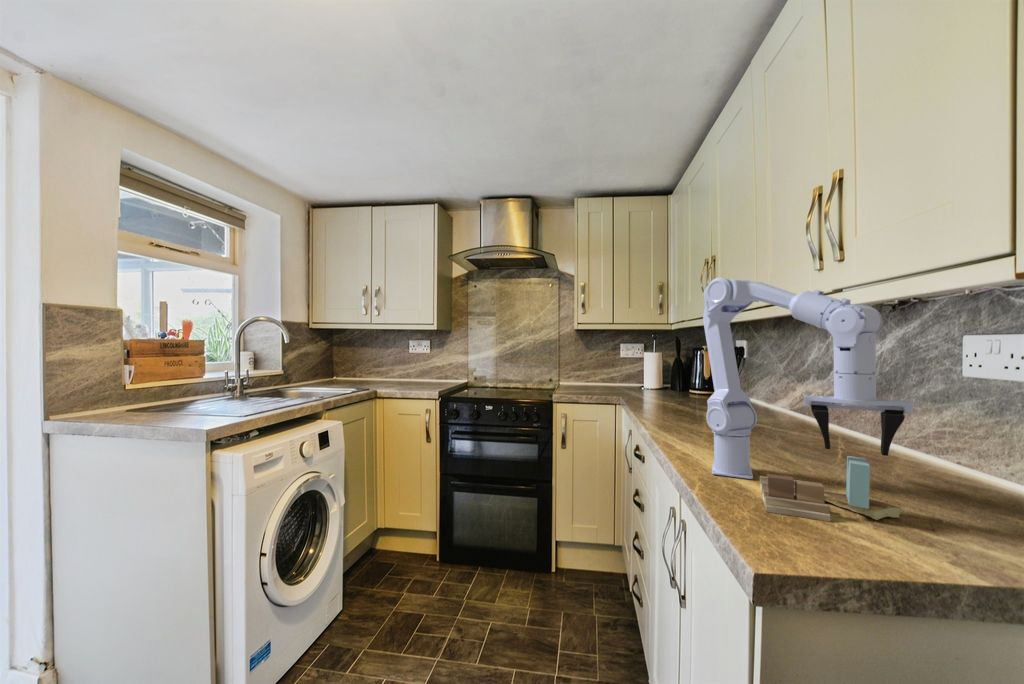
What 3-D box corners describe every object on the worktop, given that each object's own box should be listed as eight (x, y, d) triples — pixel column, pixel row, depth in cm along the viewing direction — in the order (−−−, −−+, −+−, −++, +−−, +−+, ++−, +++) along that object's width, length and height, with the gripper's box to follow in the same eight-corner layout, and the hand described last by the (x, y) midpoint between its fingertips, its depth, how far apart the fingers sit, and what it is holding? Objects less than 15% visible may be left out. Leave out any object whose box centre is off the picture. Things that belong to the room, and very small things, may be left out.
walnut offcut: (767, 498, 75) (767, 474, 75) (792, 502, 73) (792, 477, 73) (768, 502, 73) (768, 477, 73) (794, 506, 72) (793, 480, 72)
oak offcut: (795, 502, 73) (794, 480, 73) (821, 506, 71) (821, 483, 71) (796, 506, 71) (796, 483, 71) (824, 510, 70) (823, 486, 70)
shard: (810, 497, 78) (810, 487, 78) (840, 495, 80) (840, 486, 80) (874, 520, 68) (874, 509, 68) (906, 517, 70) (907, 506, 70)
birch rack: (759, 485, 85) (759, 475, 85) (813, 492, 81) (813, 481, 81) (766, 511, 72) (766, 499, 72) (830, 521, 68) (830, 508, 68)
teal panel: (849, 505, 69) (850, 463, 69) (846, 494, 75) (847, 455, 75) (868, 508, 68) (870, 466, 68) (864, 497, 73) (865, 458, 74)
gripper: (906, 373, 71) (907, 452, 71) (803, 370, 80) (804, 441, 80) (915, 376, 66) (916, 461, 65) (803, 372, 74) (804, 448, 74)
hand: (855, 451), depth 72 cm, fingers open, 7 cm apart
